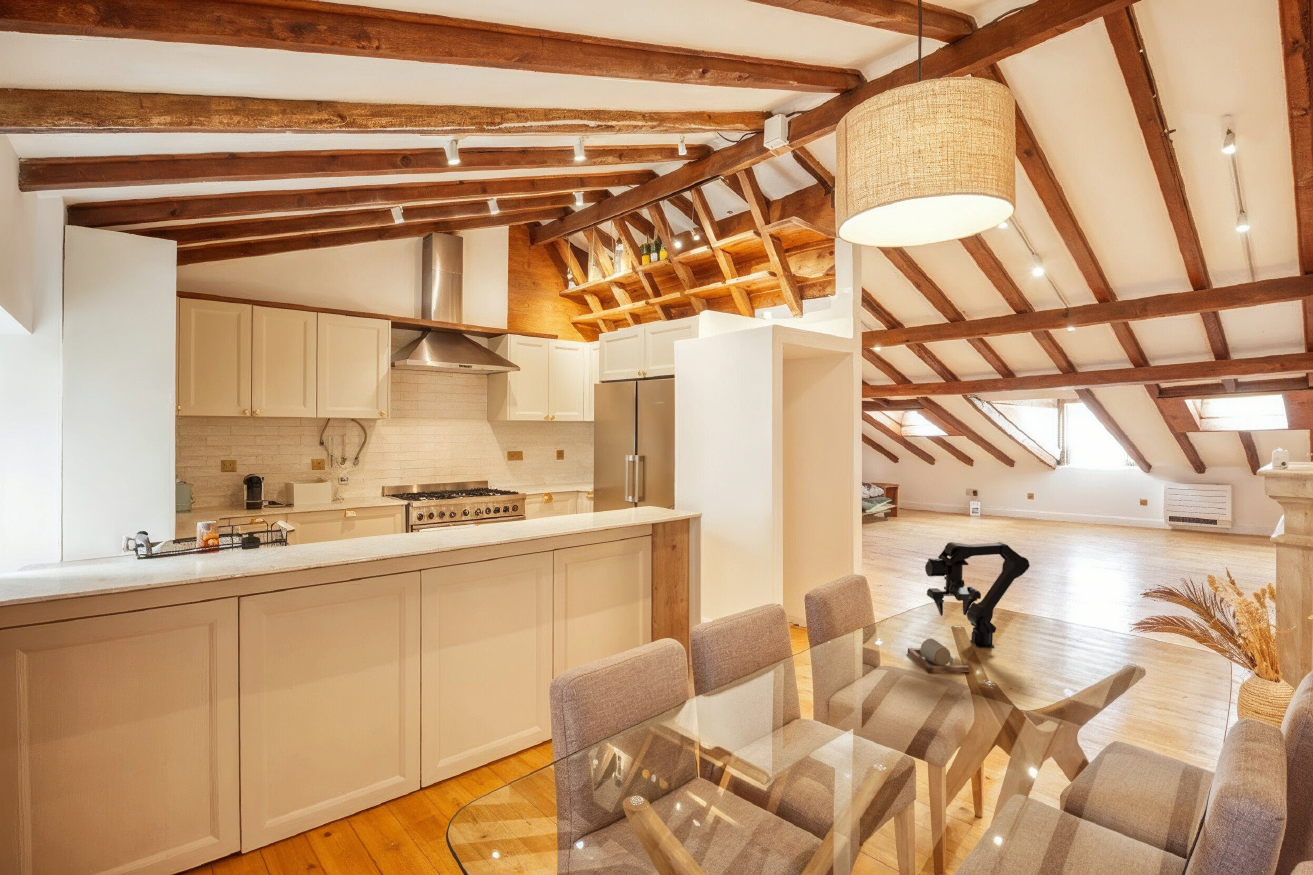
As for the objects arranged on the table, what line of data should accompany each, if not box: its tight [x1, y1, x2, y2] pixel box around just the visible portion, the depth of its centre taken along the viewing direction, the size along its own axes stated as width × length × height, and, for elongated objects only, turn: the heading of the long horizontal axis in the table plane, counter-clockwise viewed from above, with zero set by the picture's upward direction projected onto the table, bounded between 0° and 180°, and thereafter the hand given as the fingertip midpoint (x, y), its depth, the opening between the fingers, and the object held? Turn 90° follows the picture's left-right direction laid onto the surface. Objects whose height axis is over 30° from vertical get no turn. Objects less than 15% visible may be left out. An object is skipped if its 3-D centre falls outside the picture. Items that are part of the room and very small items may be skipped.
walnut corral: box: [907, 647, 970, 675], centre depth 231 cm, size 14×17×2 cm
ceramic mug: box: [920, 638, 955, 666], centre depth 231 cm, size 11×8×8 cm
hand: (953, 615), depth 246 cm, fingers open, 9 cm apart
